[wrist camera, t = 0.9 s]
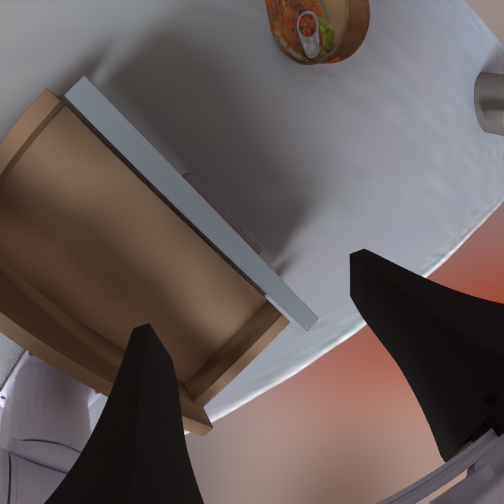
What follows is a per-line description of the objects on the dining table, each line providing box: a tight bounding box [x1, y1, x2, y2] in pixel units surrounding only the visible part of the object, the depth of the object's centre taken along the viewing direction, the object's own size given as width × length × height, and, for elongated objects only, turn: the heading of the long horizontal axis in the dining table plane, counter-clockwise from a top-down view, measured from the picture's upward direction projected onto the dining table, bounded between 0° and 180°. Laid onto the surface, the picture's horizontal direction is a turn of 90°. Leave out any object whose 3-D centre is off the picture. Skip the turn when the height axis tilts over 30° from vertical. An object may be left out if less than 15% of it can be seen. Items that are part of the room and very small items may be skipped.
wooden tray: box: [0, 88, 290, 436], centre depth 20 cm, size 12×24×7 cm, turn 40°
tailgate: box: [64, 76, 319, 331], centre depth 19 cm, size 2×20×6 cm, turn 41°
